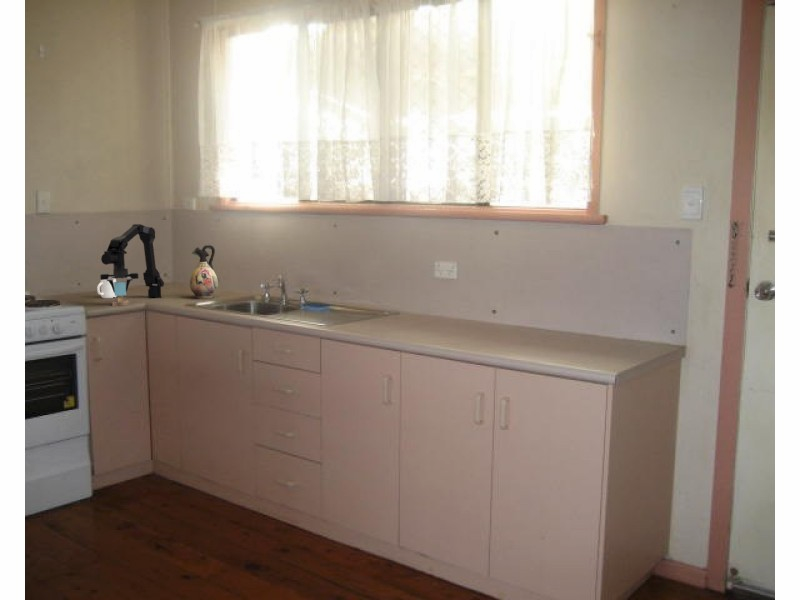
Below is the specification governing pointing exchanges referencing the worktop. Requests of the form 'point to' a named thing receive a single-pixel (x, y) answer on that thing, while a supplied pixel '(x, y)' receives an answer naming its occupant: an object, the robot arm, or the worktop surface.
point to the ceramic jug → (204, 275)
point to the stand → (120, 302)
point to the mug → (106, 289)
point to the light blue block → (120, 288)
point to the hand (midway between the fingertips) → (120, 292)
